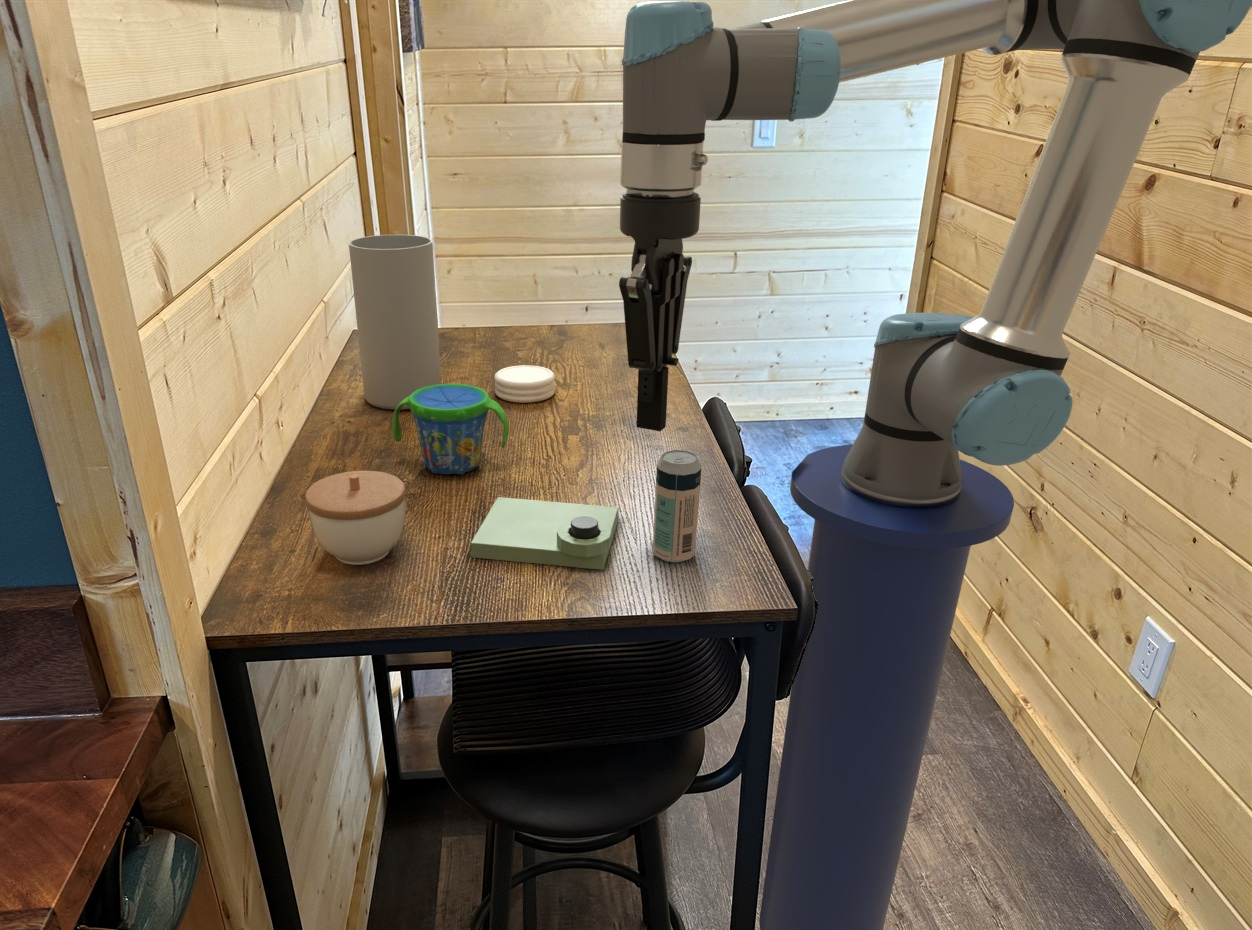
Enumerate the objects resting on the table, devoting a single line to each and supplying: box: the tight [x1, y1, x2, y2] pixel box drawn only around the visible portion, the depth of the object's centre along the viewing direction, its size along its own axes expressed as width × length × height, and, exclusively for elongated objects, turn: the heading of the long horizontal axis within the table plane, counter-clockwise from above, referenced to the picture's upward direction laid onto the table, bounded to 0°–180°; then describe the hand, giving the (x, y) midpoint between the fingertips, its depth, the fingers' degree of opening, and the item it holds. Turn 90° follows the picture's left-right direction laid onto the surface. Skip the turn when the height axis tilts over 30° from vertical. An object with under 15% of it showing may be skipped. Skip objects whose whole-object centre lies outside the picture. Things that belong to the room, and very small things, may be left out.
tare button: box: [571, 516, 598, 540], centre depth 100 cm, size 3×3×2 cm
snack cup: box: [391, 383, 510, 476], centre depth 123 cm, size 16×10×10 cm
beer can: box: [652, 449, 702, 563], centre depth 100 cm, size 5×5×12 cm
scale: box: [470, 496, 620, 571], centre depth 105 cm, size 15×13×4 cm
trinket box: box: [304, 470, 406, 566], centre depth 101 cm, size 11×11×9 cm
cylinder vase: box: [348, 234, 442, 411], centre depth 144 cm, size 12×12×25 cm
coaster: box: [493, 364, 556, 404], centre depth 151 cm, size 10×10×4 cm
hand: (651, 426), depth 96 cm, fingers closed
